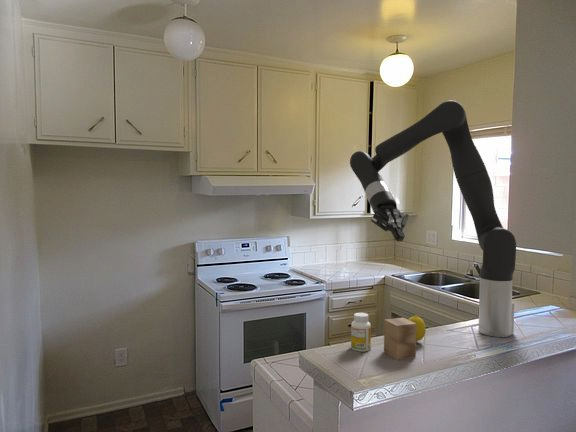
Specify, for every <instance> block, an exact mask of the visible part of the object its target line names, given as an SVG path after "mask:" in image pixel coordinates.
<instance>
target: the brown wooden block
mask: <svg viewBox="0 0 576 432" xmlns="http://www.w3.org/2000/svg"><path fill="white" fill-rule="evenodd" d="M383 321H384V324H383V327H384V328H383V353H385V354H387V355H388V356H390V357H391V358H392V359H394V360H403V359H411V358H416V357H417V356H416V355H417V353H416V352H417V342H416V323H414V322H412V321H409V319H407V318H405V317H396V318H387V319H386V318H385V319H384V320H383Z"/></svg>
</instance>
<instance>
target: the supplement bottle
mask: <svg viewBox="0 0 576 432" xmlns="http://www.w3.org/2000/svg"><path fill="white" fill-rule="evenodd" d="M350 325H351V326H350V327H351V329H350V331H351V332H350V347H351V349H352V350H353V351H355V352H362V353H363V352H368V351H370V350H371V344H372V342H371V337H372V335H371V334H372V333H371V332H372V326H371V322H369V314H368V313H367V312H356V313H354V314H353V321H352V322H351V323H350Z"/></svg>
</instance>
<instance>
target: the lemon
mask: <svg viewBox="0 0 576 432" xmlns="http://www.w3.org/2000/svg"><path fill="white" fill-rule="evenodd" d="M408 320H409V321H412V322H414V323H416V343H417V342H420V341H421V340H423V339H424V337H425V335H426V329H427V327H426V324H425V321H424V319H422V318H421V317H420V316H418V315H415V314H414V316H411V317H409V318H408Z"/></svg>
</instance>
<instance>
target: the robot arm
mask: <svg viewBox="0 0 576 432" xmlns="http://www.w3.org/2000/svg"><path fill="white" fill-rule="evenodd" d="M441 133H442V136H443V138H444V139H445V141H446V144H447V146H448V149H449V152H450V158H451V163H452V164H451V165H452V167H453V173H454V176H455V180H456V183H457V185H458V188H459V190H460V192H461V195H462V197H463V200H464V203H465V205H466V207H467V209H468V210H469V213H470V215H471V218H472V221H473V226H474V229H475V232H476V237H477V242H478V245H479V247H480V249H481V250H482V263H481V267H480V269H479V295H478V296H479V298H478V332H479V333H481V334H483V335H485V336H489V337H496V338H507V337H510V336H512V335H514V331H515V330H514V329H515V327H514V326H515V325H514V324H515V303H513V279H514V278H513V277H514V272H515V270H516V262H517V261H516V260H517V259H516V258H517V257H516V256H517V241H516V237H515V235H514V233H512V232H511V231H509V230H508V229H506V228H504V226H503V225H502V222H501V221H500V218H499V216H498V213H497V211H496V207H495V199H494V189H493V184H492V181H491V178H490V175H489V173H488V170H487V167H486V165H485V162H484V161H483V158H482V156H481V154H480V152H479V150H478V149H477V147H476V145H475V143H474V140H473V138H472V135H471V132H470V128H469V124H468V118H467V113H466V110H465V109H464V106H463V105H462V104H461V103H460V102H458V101H456V100H446V101H445V100H444V101H443V102H440V104H438V105H437V106H436V107H435V108H434V109H433V110H431V111H430V112H429V113H428V114H426V115H425V116H424V117H422V118H421V119H419V120H418V121H416V122H415V123H414V124H412V125H409V127H407V128H405V129H403V130H402V131H400V132H398V133H396V134H394V135H391V137H389V138H387V139H385V140H384V141H382V142H380V143H379V144H377V145H376V146H375V148H374V150H375V151H374V152H375V155H373V157H371V156H370V154H368V153H367V152H365V151H362V150H358V151H355V152H354V153H352V154H351V155H350V156H351V157H350V158H349V159H350V160H349V165H350V168H351V170H352V172H353V174H355V176H356V178H357V179H358V181H359V182H360V184H361V186H362V189H363V190H364V193H365V196H366V199H367V201H368V203H369V205H370V207H371V209H372V211H373V216H372V217H371V219H370V221H371V222H372V223H373V224H375V225H376V226H378V227H379V228H380V229H381V230H383V231H385V232H389V233H391V234H392V236H393V239H394V240H396V242H403V240H404V239H405V236H406V235H405V234H404V233H405V232H404V231H403V230H404V228H405V227H406V225H407V222H408V221H409V217H410V214H408V213H405V214H404V213H402V212H401V210H400V209H399V208H398V207H397V201H396V200H395V197H394V195H393V194H392V192H391V190H390V188H389V187H388V186H387V184H386V183H385V181H384V179H383V177H382V175H381V174H380V173H379V172H380V171H381V170H382V169H384V168H385V167H386V166H387V165H388V163H390V162H392V161H394V160H396V159H398V158H400V157H402V155H404V154H406V153H407V152H409V151H411V150H412V149H413V148H415V147H416V146H417V145H419V144H421V143H422V142H424V141H426V140H428V139H430V138H431V137H433V136H435V135H439V134H441Z"/></svg>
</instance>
